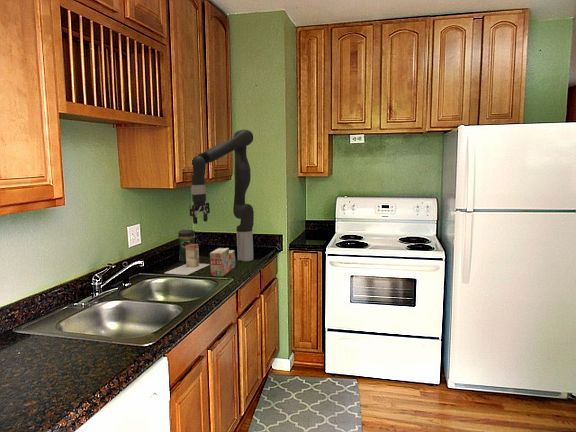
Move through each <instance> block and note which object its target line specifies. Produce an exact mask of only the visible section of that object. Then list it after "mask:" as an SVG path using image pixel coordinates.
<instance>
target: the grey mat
mask: <svg viewBox="0 0 576 432" xmlns="http://www.w3.org/2000/svg"><path fill="white" fill-rule="evenodd" d="M208 266H210V263H200V262H199V266H197V267H195V268H192V267H187V266H186V263H185V264H182V265H180V266H177V267H175V268H173V269H171V270H168V271H166V272H164V274H170V275H183V276H188V275H190V274H193V273H195V272H196V271H199V270H201V269H203V268H206V267H208Z"/></svg>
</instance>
